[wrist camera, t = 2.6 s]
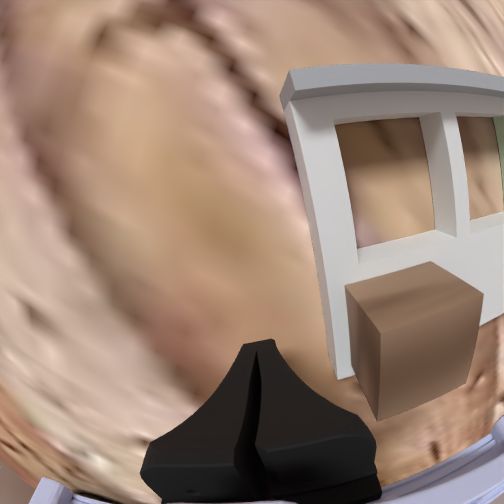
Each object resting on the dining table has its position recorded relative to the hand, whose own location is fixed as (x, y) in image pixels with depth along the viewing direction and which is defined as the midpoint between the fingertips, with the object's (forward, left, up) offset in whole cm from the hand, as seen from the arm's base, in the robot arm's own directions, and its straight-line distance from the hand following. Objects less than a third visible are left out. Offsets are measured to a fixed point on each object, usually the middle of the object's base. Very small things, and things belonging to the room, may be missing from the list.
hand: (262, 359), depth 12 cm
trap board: (+3, -13, -3) cm, 14 cm away
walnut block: (0, -6, -1) cm, 6 cm away
